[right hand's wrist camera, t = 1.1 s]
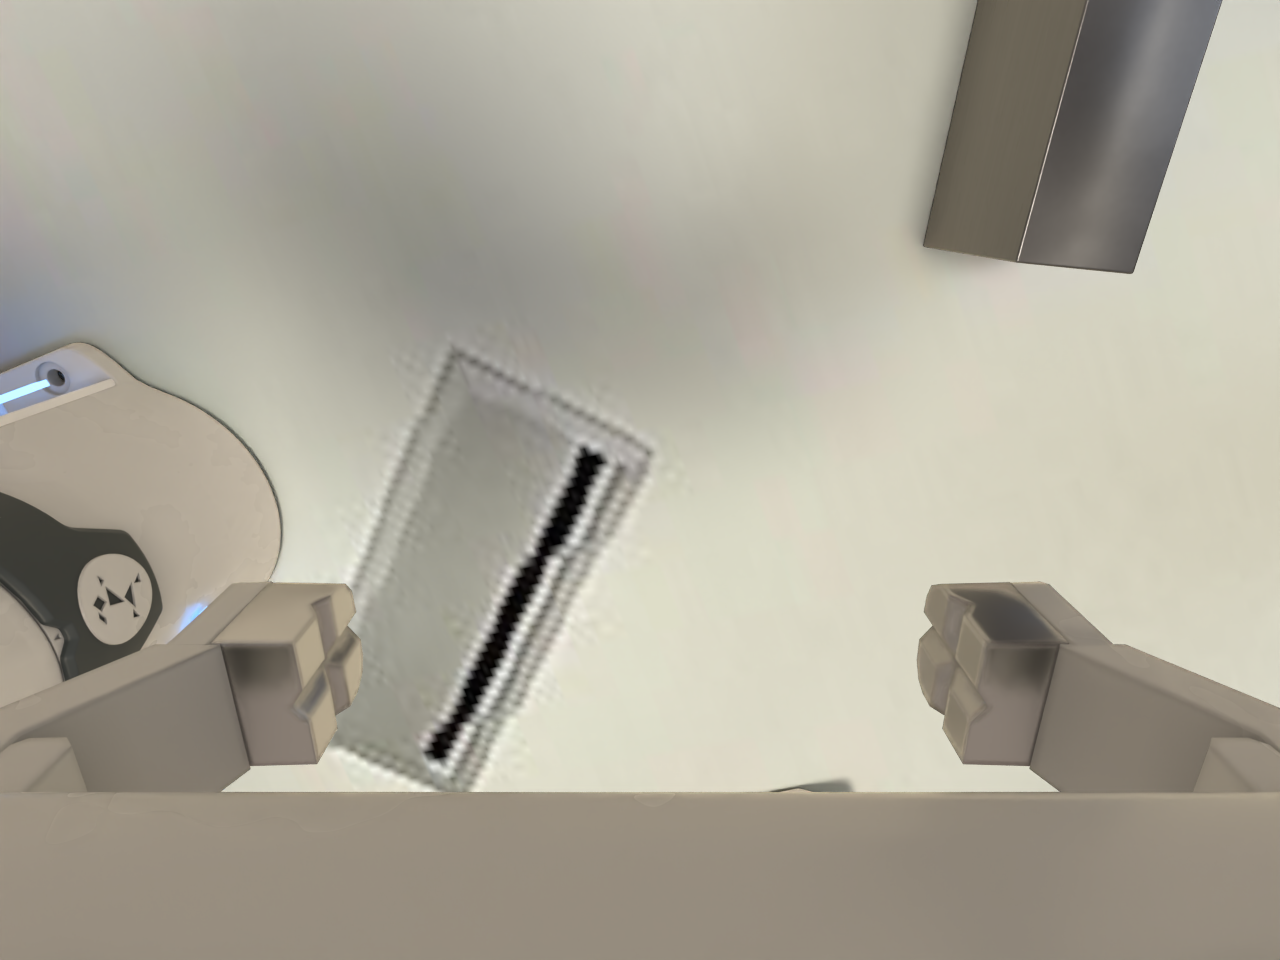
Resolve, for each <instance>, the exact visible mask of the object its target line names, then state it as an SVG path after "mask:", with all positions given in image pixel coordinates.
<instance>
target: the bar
mask: <svg viewBox="0 0 1280 960" xmlns="http://www.w3.org/2000/svg"><path fill="white" fill-rule="evenodd" d="M1221 3H1222V0H979V1H978V5H977V9H976V14H975V18H974V23H973V27H972V32H971V36H970V41H969V45H968V50H967V54H966V58H965V63H964V67H963V72H962V76H961V81H960V85H959V90H958V94H957V99H956V103H955V108H954V112H953V116H952V121H951V125H950V130H949V134H948V139H947V143H946V148H945V152H944V157H943V161H942V165H941V170H940V174H939V179H938V183H937V188H936V192H935V197H934V201H933V206H932V210H931V214H930V219H929V223H928V228H927V232H926V237H925V241H924V247H928V248H934V249H940V250H945V251H951V252H957V253H963V254H969V255H975V256H981V257H987V258H993V259H999V260H1005V261H1010V262H1016V263H1026V264H1036V265H1046V266H1056V267H1066V268H1076V269H1086V270H1095V271H1105V272H1115V273H1125V274H1132V273H1133V272H1134V269H1135V266H1136V263H1137V260H1138V257H1139V253H1140V250H1141V247H1142V244H1143V241H1144V238H1145V235H1146V232H1147V229H1148V226H1149V223H1150V220H1151V217H1152V214H1153V211H1154V208H1155V205H1156V202H1157V198H1158V195H1159V192H1160V189H1161V186H1162V183H1163V180H1164V177H1165V174H1166V171H1167V168H1168V165H1169V162H1170V159H1171V156H1172V153H1173V150H1174V147H1175V144H1176V140H1177V137H1178V134H1179V131H1180V128H1181V125H1182V122H1183V119H1184V116H1185V113H1186V110H1187V107H1188V104H1189V101H1190V98H1191V95H1192V92H1193V89H1194V86H1195V82H1196V79H1197V76H1198V73H1199V70H1200V67H1201V64H1202V61H1203V58H1204V55H1205V52H1206V49H1207V46H1208V43H1209V40H1210V37H1211V34H1212V31H1213V27H1214V24H1215V21H1216V18H1217V15H1218V12H1219V9H1220V6H1221Z"/></svg>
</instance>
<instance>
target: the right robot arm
mask: <svg viewBox="0 0 1280 960" xmlns="http://www.w3.org/2000/svg"><path fill="white" fill-rule="evenodd" d="M58 371H60V372H61V373H62V374H63V375H64V378H65V382H64V381H63V380H61V379H60V377H59V375H58ZM280 539H281V527H280V518H279V513H278V508H277V504H276V501H275V498H274V495H273V492H272V490H271V487H270V485H269V483H268V481H267V479H266V477H265V475H264V473H263V471H262V470H261V468H260V466H259V465H258V463H257V462H256V460H255V459H254V458H253V456H252V455H251V454H250V452H249V451H248V450H247V449H246V448H245V446H244V445H243V444H242V443H241V442H240V441H239V440H238V439H237V438H236V437H235V436H234V435H233V434H232V433H231V432H230V431H229V430H228V429H227V428H226V427H224V426H223V425H222V424H221V423H219V422H218V421H217V420H216V419H214V418H213V417H211V416H210V415H208V414H207V413H205V412H204V411H202V410H201V409H199V408H197V407H195V406H194V405H192V404H190V403H188V402H186V401H184V400H182V399H180V398H177V397H175V396H172V395H170V394H167V393H165V392H162V391H160V390H157V389H155V388H152V387H150V386H148V385H146V384H144V383H142V382H140V381H138V380H136V379H135V378H134V377H133V376H132V375H130V374H129V373H128V372H127V371H126V370H125V369H123V368H122V367H121V366H120V365H119V364H118V363H116V362H115V361H114V360H113V359H111V358H110V357H109V356H107V355H106V354H105V353H103V352H102V351H100V350H99V349H97V348H95V347H94V346H92V345H89V344H86V343H79V342H78V343H72V344H69V345H66V346H64V347H61V348H59V349H57V350H54V351H52V352H50V353H47V354H45V355H42V356H40V357H38V358H35V359H33V360H31V361H28V362H26V363H23V364H21V365H19V366H16V367H14V368H12V369H9V370H7V371H5V372H2V373H0V960H1280V708H1278V707H1276V706H1274V705H1271V704H1269V703H1266V702H1264V701H1261V700H1259V699H1257V698H1254V697H1252V696H1249V695H1247V694H1244V693H1242V692H1240V691H1237V690H1235V689H1232V688H1230V687H1227V686H1225V685H1222V684H1220V683H1218V682H1215V681H1213V680H1210V679H1208V678H1205V677H1203V676H1201V675H1198V674H1196V673H1193V672H1191V671H1188V670H1186V669H1184V668H1181V667H1179V666H1176V665H1174V664H1171V663H1169V662H1167V661H1164V660H1162V659H1159V658H1157V657H1154V656H1152V655H1150V654H1147V653H1145V652H1142V651H1140V650H1137V649H1135V648H1133V647H1130V646H1128V645H1125V644H1112V643H1111V642H1110V641H1109V640H1108V639H1107V638H1106V637H1105V636H1104V635H1103V634H1102V633H1101V632H1099V631H1098V630H1097V629H1096V628H1095V627H1094V626H1093V625H1092V624H1091V623H1090V622H1089V621H1088V620H1087V619H1086V618H1085V617H1083V616H1082V615H1081V614H1080V613H1079V612H1078V611H1077V610H1076V609H1075V608H1074V607H1073V606H1072V605H1071V604H1070V603H1069V602H1067V601H1066V600H1065V599H1064V598H1063V597H1062V596H1061V595H1060V594H1059V593H1058V592H1057V591H1056V590H1055V589H1054V588H1053V587H1051V586H1050V585H1049V584H1046V583H1043V582H1040V581H1038V582H1015V583H1010V582H1001V583H960V584H937V585H931V588H930V590H929V592H928V594H927V597H926V603H925V608H924V613H925V614H926V616H927V618H928V619H929V621H930V622H931V624H932V625H933V626H932V627H931V628H930V629H929V630H928V631H927V632H926V633H925V634H924V635H923V636H922V637H921V638H920V639H919V646H918V654H917V668H918V679H919V683H920V686H921V689H922V692H923V695H924V697H925V698H926V700H927V702H928V704H929V706H930V707H932V708H934V709H935V710H937V711H938V712H940V713H941V714H943V715H945V716H944V722H943V728H942V729H943V730H944V732H945V734H946V736H947V737H948V739H949V741H950V743H951V744H952V746H953V748H954V749H955V751H956V753H957V755H958V756H959V758H960V760H961V762H962V763H963V764H977V765H1014V766H1030V768H1029V769H1030V770H1032V771H1033V772H1034V773H1036V774H1037V775H1038V776H1040V777H1041V778H1042V779H1044V780H1045V781H1046V782H1048V783H1049V784H1050V785H1052V786H1053V787H1054V788H1056V789H1057V790H1058V791H1060V792H221V791H222V790H223V789H225V788H226V787H227V786H229V785H230V784H231V783H233V782H234V781H235V780H237V779H238V778H239V777H241V776H242V775H243V774H245V773H246V772H247V771H249V770H250V766H265V765H301V764H317V763H318V762H319V760H320V758H321V756H322V755H323V753H324V751H325V750H326V748H327V746H328V744H329V743H330V741H331V739H332V737H333V736H334V734H335V732H336V730H337V729H338V728H337V722H336V716H335V715H337V714H339V713H340V712H342V711H343V710H345V709H346V708H348V707H350V706H351V704H352V702H353V700H354V698H355V696H356V695H357V693H358V690H359V686H360V681H361V677H362V673H363V652H362V645H361V639H360V638H359V637H358V636H357V635H356V634H355V633H354V632H353V631H352V630H351V629H350V628H349V627H348V626H347V625H348V624H349V622H350V621H351V619H352V618H353V616H354V614H355V613H356V609H355V604H354V599H353V594H352V591H351V589H350V588H349V587H348V586H347V585H346V584H336V583H282V582H277V583H273V582H268V580H269V578H270V576H271V574H272V572H273V570H274V568H275V565H276V562H277V559H278V554H279V549H280Z"/></svg>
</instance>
